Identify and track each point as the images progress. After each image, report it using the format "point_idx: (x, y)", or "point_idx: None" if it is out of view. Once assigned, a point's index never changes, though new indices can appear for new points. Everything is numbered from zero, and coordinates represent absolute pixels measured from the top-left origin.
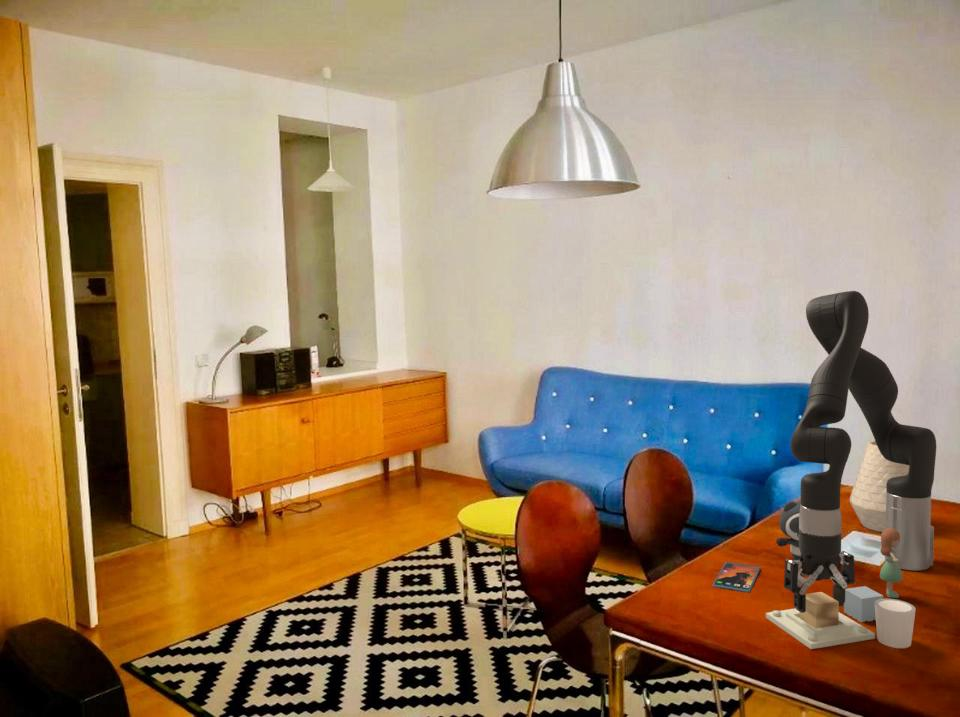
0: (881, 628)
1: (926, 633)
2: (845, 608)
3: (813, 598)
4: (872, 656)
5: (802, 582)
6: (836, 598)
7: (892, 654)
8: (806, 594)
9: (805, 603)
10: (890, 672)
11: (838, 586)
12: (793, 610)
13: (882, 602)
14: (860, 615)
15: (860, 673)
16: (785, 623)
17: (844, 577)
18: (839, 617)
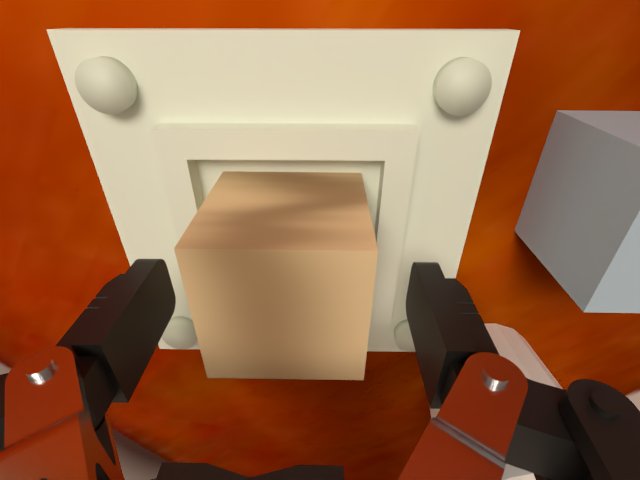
0: (432, 412)
1: (626, 351)
2: (566, 130)
3: (242, 315)
4: (330, 397)
5: (91, 427)
6: (417, 311)
7: (393, 402)
8: (229, 258)
9: (152, 350)
10: (312, 445)
11: (445, 396)
12: (246, 58)
13: (528, 476)
14: (531, 243)
15: (237, 434)
16: (125, 193)
17: (555, 454)
18: (400, 257)
